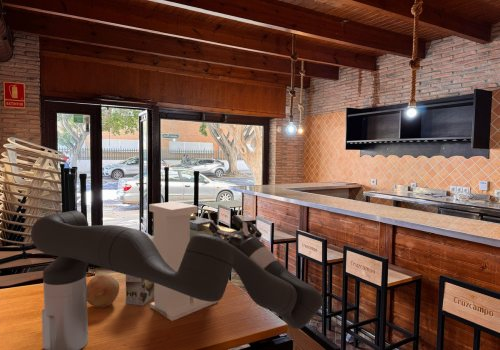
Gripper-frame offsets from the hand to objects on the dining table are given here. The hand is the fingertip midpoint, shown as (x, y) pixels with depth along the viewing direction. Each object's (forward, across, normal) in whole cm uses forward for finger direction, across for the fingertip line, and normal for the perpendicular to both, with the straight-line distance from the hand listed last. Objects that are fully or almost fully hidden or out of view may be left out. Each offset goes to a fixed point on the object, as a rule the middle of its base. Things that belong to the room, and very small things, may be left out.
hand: (222, 220), depth 100 cm
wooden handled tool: (+4, -1, -7) cm, 8 cm away
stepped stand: (-3, -7, -30) cm, 31 cm away
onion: (+12, -26, -37) cm, 47 cm away
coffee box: (+8, -15, -36) cm, 40 cm away
